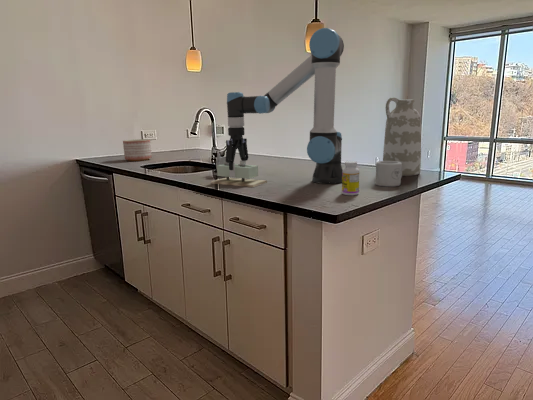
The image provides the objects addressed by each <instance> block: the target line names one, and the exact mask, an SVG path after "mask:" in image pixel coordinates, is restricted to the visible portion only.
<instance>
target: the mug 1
mask: <svg viewBox="0 0 533 400" xmlns="http://www.w3.org/2000/svg"><path fill="white" fill-rule="evenodd" d="M215 161H216V162H215V167H216V169H215V170H217V165H222V164H225V163H227V162H226V156H221V154H220V152H217V156H216V160H215ZM219 177H221V178H225V177H224V176H219Z"/></svg>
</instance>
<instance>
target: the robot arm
mask: <svg viewBox="0 0 533 400" xmlns="http://www.w3.org/2000/svg"><path fill="white" fill-rule="evenodd" d="M308 45H309V50H310V51H309V52H310V55H309V57H307V58H306V59H305V60H303V61H302V62H301V63H300V64H298V66H296V67H295V69H293V70H291V72H290V73H289V74H287V76H285V77H284V78H283V79H282V80H281V81H279V82H277V84H275V86H273V87H272V88H270V90H269V91H268V92H266V93H265V94H264V95H256V96H255V95H251V96H244V93H243V92H241V91H238V92H236V91H234V92H233V91H232V92H228V93H227V95H226V109H227V126H228V128H227V131H228V132H227V135H228V136H229V137H230V138H229V139H226V140H225V145H226V149H225V150H226V152H225V157H226V162H227V163H229V170H230V177H229V178H235V164H236V163H235V157H236V153H237V151H238V154H239V157H240V160H239V164H245V165H247V164H246V163H247V161H249V153H248V144H247V142H248V139H247V137H246V138H245V137H244V136H245V127H244V126H245V116H244V115H245V114H269V113H273V111H274V110H275V109H276V107H277V106H278V105H280V104H281V103H282V102H284V100H285V99H287V98H288V97H289V96H290V95H292V94H293V93H294V92H296V91H297V90H298V89H299V88H300V87H301V86H303V85H304V84H305V83H306V82H307V81H309V80H310V79H311V78H312V77H314V95H313V96H314V97H313V98H314V100H313V127H312V128H311V129H310V130H309V141H308V142H307V146H306V153H307V156H308V157H309V159H310V160H311V161H313V162H314V163H315V168H314V171H313V173H312V182H313V183H317V184H340V183H341V184H342V170H343V169H344V168H343V166H342V142H343V141H342V140H343V138H342V136H343V135H342V133H341V132H340V131H338V130H336V129H335V127H334V126H335V125H334V124H335V102H336V101H335V100H336V76H337V74H336V73H337V68H338V67H339V66H340V64H341V57H342V55H343V52H344V49H345V44H344V39H343V38H342V37H341V36H340V35H339V33H337V31H336V30H334V29H333V28H328V27H323V28H319V29H317V30H316V31H314V33H313V34H312V35H311V37H310V38H309V44H308Z"/></svg>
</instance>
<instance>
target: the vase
mask: <svg viewBox="0 0 533 400" xmlns="http://www.w3.org/2000/svg"><path fill="white" fill-rule="evenodd" d="M391 102H394V103H395V108H393V109H392V110H390V104H391ZM414 102H415V99H399V98H397V97H394V96H392V97H389V98H388V99H387V101H386V103H385V115H386V120H385V121H386V122H385V129H384V140H383V155H382V161H398V162H401V163H402V177H409V176H410V177H412V176H418V175H420V173H421V168H422V167H421V166H422V165H421V164H422V163H421V162H422V118H421V117H422V116H421V114H420V113H419V111H418V110H417V109H415V108H414V107H413V106H414V105H413V104H414Z"/></svg>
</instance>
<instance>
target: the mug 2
mask: <svg viewBox="0 0 533 400" xmlns="http://www.w3.org/2000/svg"><path fill="white" fill-rule="evenodd" d="M402 178H403V176H402V163H401V162H398V161H383V160H380V161H377V162H376V163H375V180H374V184H375V185H376V186H379V187H388V188H389V187H399V186H401V183H402V180H401V179H402Z"/></svg>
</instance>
